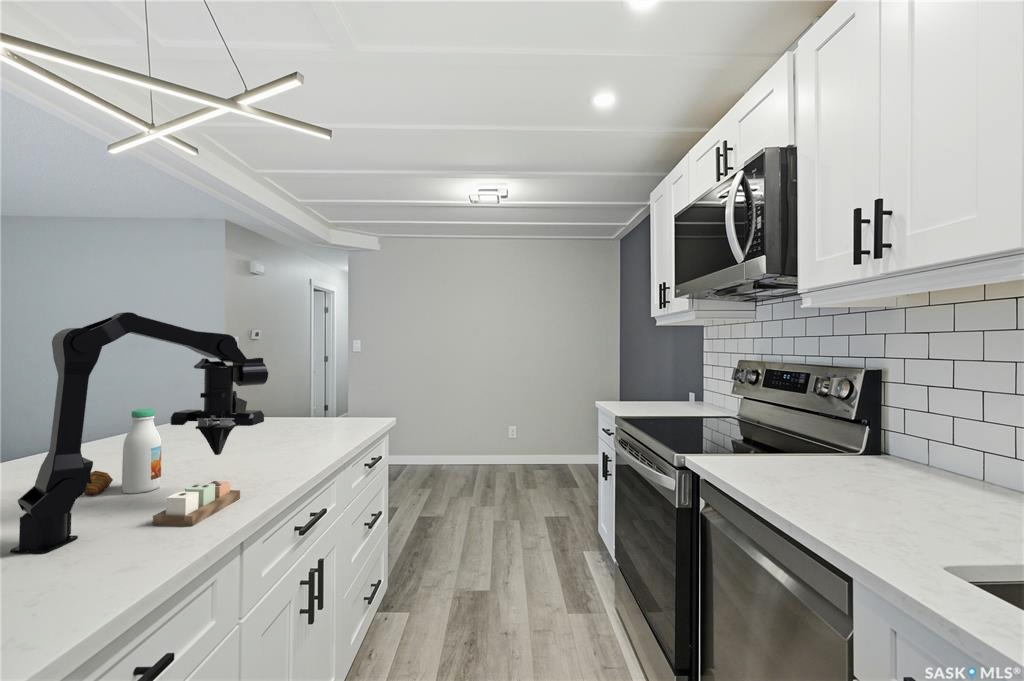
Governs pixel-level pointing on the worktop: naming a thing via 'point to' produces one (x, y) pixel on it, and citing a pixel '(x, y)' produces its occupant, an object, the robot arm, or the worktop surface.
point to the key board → (196, 512)
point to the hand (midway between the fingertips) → (217, 454)
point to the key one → (182, 503)
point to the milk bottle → (141, 454)
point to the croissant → (98, 483)
